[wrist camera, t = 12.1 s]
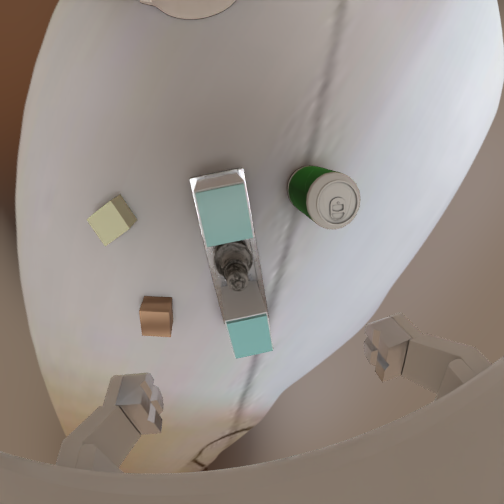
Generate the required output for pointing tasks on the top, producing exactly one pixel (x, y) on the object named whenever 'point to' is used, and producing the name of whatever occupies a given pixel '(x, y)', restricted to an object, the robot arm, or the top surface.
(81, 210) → the top surface
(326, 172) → the soda can
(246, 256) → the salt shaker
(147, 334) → the block walnut
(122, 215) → the block olive
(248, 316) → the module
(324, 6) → the top surface
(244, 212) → the block
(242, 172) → the rail
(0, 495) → the robot arm
